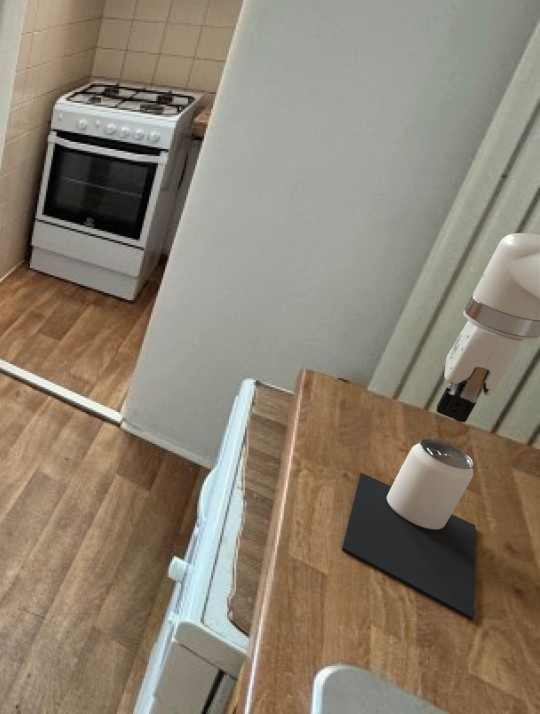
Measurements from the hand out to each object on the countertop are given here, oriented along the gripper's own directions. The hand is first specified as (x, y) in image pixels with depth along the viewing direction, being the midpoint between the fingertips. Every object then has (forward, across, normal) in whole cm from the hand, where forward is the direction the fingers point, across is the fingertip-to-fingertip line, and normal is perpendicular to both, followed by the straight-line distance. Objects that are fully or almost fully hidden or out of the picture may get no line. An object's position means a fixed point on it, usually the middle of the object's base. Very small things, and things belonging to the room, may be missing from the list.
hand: (450, 414), depth 93 cm
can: (+13, +10, 0) cm, 16 cm away
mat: (+13, +16, 0) cm, 21 cm away
